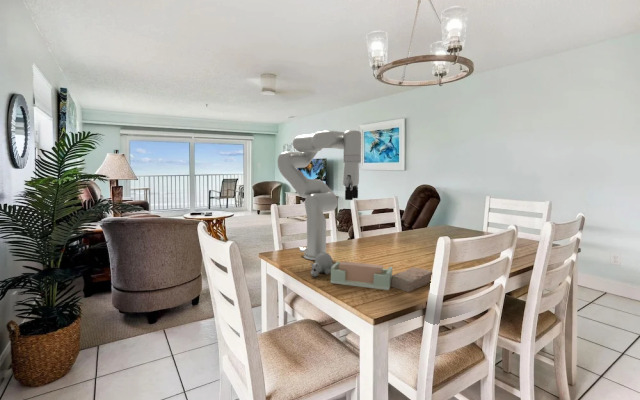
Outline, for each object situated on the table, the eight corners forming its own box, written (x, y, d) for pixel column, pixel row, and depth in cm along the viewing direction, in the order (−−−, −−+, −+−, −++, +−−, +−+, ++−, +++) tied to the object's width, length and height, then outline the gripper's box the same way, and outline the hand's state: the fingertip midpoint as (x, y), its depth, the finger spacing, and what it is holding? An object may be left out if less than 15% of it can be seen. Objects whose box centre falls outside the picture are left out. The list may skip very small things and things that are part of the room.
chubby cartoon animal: (307, 280, 136) (301, 263, 133) (325, 264, 144) (320, 247, 141) (320, 284, 131) (314, 266, 128) (338, 267, 139) (333, 250, 136)
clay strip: (338, 279, 126) (339, 264, 126) (341, 276, 130) (341, 261, 130) (380, 284, 121) (381, 268, 121) (382, 280, 125) (382, 265, 125)
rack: (330, 282, 125) (330, 267, 125) (337, 275, 134) (337, 261, 133) (388, 290, 118) (389, 273, 118) (392, 282, 126) (392, 266, 126)
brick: (409, 293, 116) (409, 280, 116) (389, 286, 122) (389, 274, 122) (432, 282, 127) (433, 270, 127) (413, 277, 133) (414, 266, 133)
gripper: (348, 160, 152) (348, 197, 153) (338, 159, 136) (337, 200, 137) (364, 160, 149) (364, 197, 151) (356, 158, 133) (355, 201, 135)
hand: (351, 199), depth 144 cm, fingers open, 9 cm apart
